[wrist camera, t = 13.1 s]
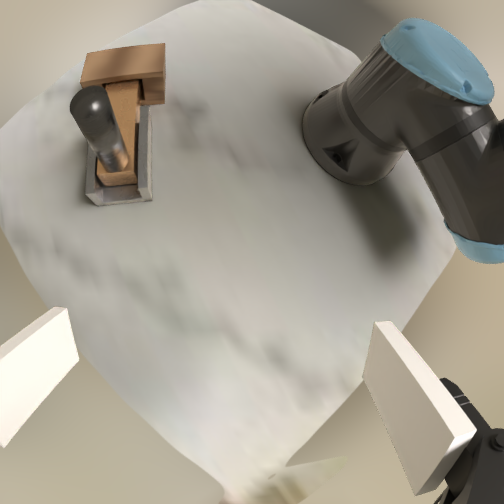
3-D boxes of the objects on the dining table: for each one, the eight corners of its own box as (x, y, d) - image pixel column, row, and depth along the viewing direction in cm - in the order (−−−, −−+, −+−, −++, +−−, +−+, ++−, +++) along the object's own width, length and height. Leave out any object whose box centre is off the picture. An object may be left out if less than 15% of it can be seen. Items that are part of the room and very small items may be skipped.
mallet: (142, 80, 33) (134, -4, 19) (138, 183, 32) (112, 114, 17) (114, 83, 32) (95, 2, 18) (105, 186, 31) (60, 123, 16)
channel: (151, 126, 34) (148, 105, 29) (152, 200, 33) (147, 187, 29) (101, 132, 33) (92, 112, 28) (97, 206, 32) (85, 194, 27)
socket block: (165, 76, 35) (165, 43, 29) (164, 103, 35) (163, 71, 28) (97, 84, 33) (87, 53, 26) (92, 111, 33) (79, 82, 26)
